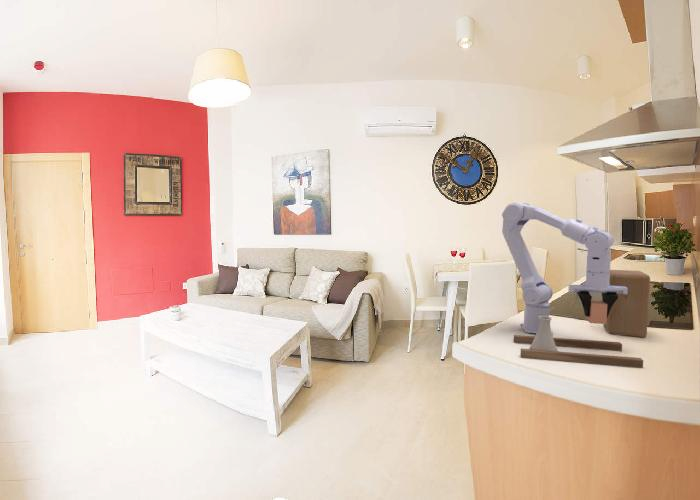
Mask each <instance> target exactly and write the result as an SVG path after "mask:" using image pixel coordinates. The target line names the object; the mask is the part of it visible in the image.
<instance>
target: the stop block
mask: <svg viewBox="0 0 700 500" xmlns="http://www.w3.org/2000/svg"><path fill="white" fill-rule="evenodd" d="M585 320H586V321H587V322H588V323H590V324H598V325H604V324H606V323H607V304H606V303H605V302H603V301H602V300H593V299H591V304H590V317H587V316H585Z"/></svg>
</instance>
